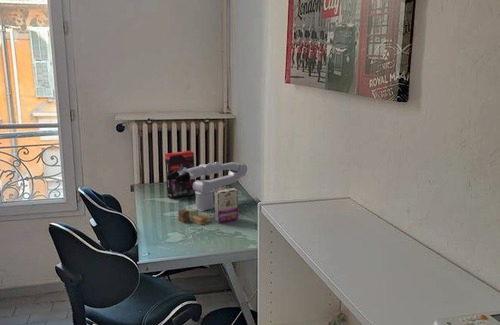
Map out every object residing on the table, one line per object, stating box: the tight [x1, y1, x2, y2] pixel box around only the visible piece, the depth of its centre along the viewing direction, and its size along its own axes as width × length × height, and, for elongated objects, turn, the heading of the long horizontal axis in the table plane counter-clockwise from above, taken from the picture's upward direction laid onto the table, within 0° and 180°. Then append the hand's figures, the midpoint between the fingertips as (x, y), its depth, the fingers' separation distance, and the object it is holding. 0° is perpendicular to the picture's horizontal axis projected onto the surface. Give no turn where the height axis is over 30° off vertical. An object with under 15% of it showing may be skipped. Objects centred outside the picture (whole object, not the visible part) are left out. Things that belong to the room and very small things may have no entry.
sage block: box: [187, 207, 199, 219], centre depth 229 cm, size 4×4×4 cm
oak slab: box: [191, 213, 212, 226], centre depth 222 cm, size 7×7×3 cm
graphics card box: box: [164, 150, 196, 200], centre depth 265 cm, size 17×7×27 cm, turn 129°
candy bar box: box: [213, 187, 239, 224], centre depth 222 cm, size 11×5×16 cm, turn 118°
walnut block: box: [177, 208, 190, 224], centre depth 223 cm, size 4×4×6 cm
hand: (171, 178), depth 225 cm, fingers open, 7 cm apart
